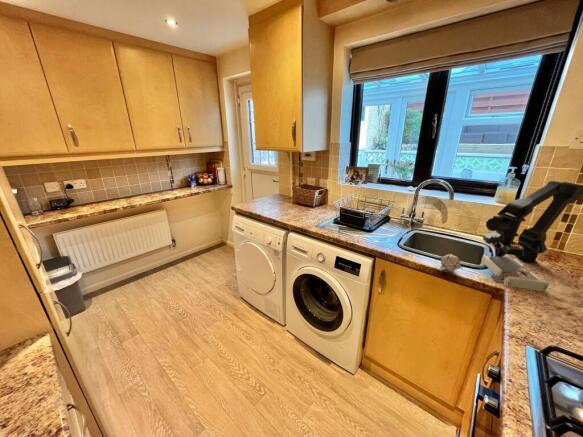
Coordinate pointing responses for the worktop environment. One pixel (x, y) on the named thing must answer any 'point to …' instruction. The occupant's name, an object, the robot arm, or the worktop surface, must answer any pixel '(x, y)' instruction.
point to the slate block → (505, 264)
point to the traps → (501, 280)
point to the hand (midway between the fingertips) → (496, 258)
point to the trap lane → (498, 271)
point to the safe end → (527, 283)
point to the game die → (450, 262)
